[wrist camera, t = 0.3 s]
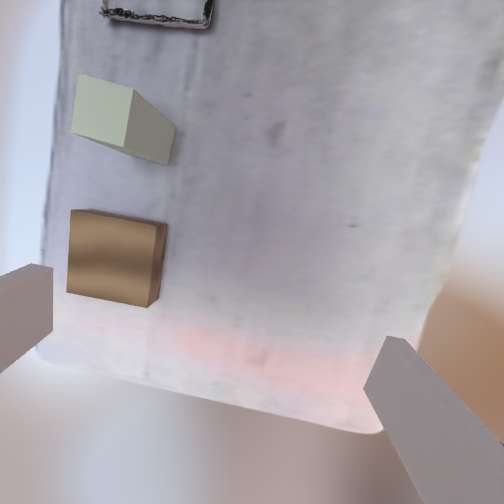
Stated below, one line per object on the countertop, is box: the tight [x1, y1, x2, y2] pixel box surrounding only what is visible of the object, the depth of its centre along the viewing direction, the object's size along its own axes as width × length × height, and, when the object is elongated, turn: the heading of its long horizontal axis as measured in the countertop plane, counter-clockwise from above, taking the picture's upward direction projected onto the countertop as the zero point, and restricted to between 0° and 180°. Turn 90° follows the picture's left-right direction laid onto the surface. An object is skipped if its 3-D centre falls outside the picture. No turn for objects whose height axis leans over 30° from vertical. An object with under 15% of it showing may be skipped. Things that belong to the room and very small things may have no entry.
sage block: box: [71, 73, 176, 166], centre depth 28 cm, size 5×5×11 cm
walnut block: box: [67, 210, 168, 308], centre depth 35 cm, size 11×11×4 cm
